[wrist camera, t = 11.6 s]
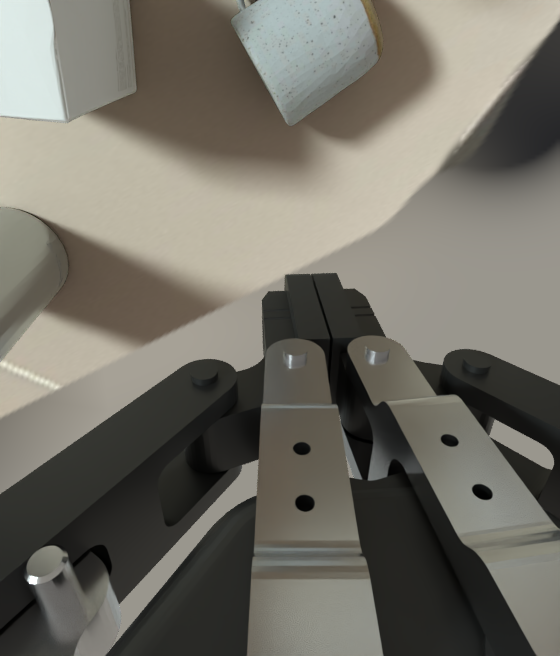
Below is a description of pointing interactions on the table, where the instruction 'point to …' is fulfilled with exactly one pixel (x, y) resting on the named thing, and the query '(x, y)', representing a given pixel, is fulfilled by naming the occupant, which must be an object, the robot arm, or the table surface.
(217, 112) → the table surface
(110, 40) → the supplement box
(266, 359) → the robot arm
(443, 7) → the table surface
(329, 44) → the ceramic mug
